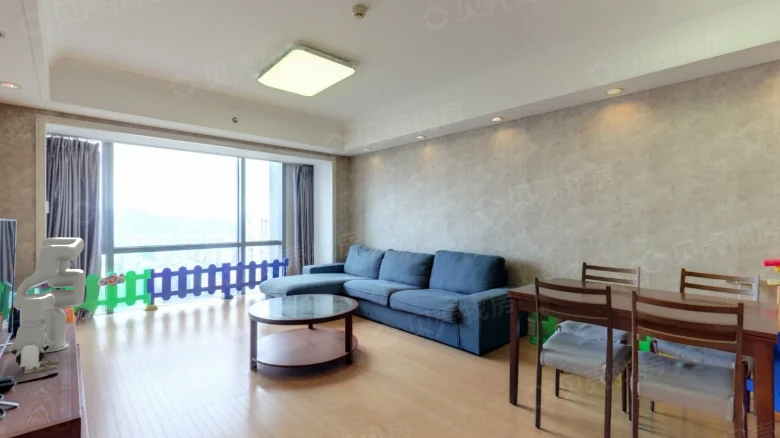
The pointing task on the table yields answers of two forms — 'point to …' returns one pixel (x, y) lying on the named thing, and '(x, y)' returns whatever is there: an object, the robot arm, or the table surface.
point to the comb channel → (40, 368)
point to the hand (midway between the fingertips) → (30, 361)
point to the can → (30, 357)
